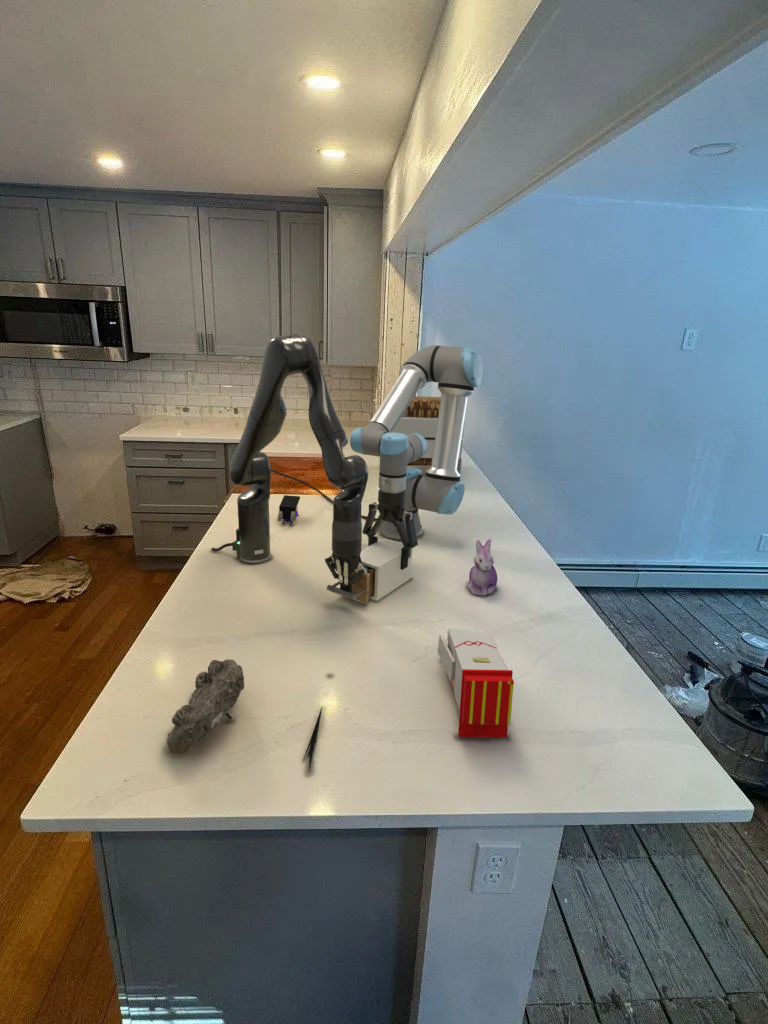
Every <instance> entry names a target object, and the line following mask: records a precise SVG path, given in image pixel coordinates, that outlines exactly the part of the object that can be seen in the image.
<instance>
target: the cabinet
mask: <svg viewBox="0 0 768 1024" xmlns="http://www.w3.org/2000/svg"><path fill="white" fill-rule="evenodd" d="M403 547H404V545H403V543H402V542H399V541H397V540H393V539H390V538H387V537H384V538H382V539H380V540H379V539H378V542H376V543H374V544H372V545H370V546H368V545H367V546H366V547H364V548H361V553H360V558H361V564H362V565H365V566H368V567H371V568H374V569H375V591H374V595H373V596H371V597H369V600H372V601H375V602H378V601H380V600H382V598H384V597H385V596H387V595H389V593H391V592H393V591H395V590H396V589H397V588H399V587H400V586H402V585H403V584H405V583H406V582H408V581H409V580H411V578H412V562H413V549H414V548H411V557H410V558H409V559H408V567H407V568H405V569H403V570H401V569H400V568H401V550H402V548H403Z"/></svg>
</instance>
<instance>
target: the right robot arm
mask: <svg viewBox="0 0 768 1024" xmlns="http://www.w3.org/2000/svg"><path fill="white" fill-rule="evenodd" d="M483 375H484V365H483V359H482V356H481V353H480V352H479V350H477V349H476V348H471V347H466V346H449V345H435V344H434V345H428V346H425V347H423V348H421V349H419V350H418V351H416V352H414V353H413V354H412V355H410V357H408V358H407V359H406V361H405V362H403V364H402V365H401V367H400V368H399V371H398V377H397V379H396V380H395V382H394V383H393V385H392V386H391V388H390V389H389V390H388V392H387V394H386V396H385V397H384V399H383V400H382V402H381V403H380V405H379V407H378V408H377V409H376V410H375V413H374V414H373V416H372V417H371V419H370V420H369V421H368V423H367V424H366V426H365V427H356V428H354V429H353V430H352V432H351V433H350V436H349V437H350V438H349V446H350V448H351V450H352V451H353V452H354V453H358V454H361V455H364V456H372V457H379V471H378V491H377V502H378V503H377V502H375V501H374V502H372V503H369V504H368V513H367V515H362V514H361V519H365V523H364V524H363V525H364V526H363V527H362V535H366V536H367V547H368V546H370V545H372V544H374V543H376V542H378V541H379V536H377V534H378V533H379V534H380V535H381V536H382V537H384V538H386V539H389V540H394V541H401V543H402V544H403V545H404V547H403V548H402V550H401V568H400V569H401V570H403V569H405V568H407V567H408V559H409V558H410V557H411V548H413V549H414V548H415V547H417V546H419V542H418V538H420V537H421V536H422V535H423V525H422V524H421V518H420V515H419V510H421V511H427V512H432V513H437V514H439V515H446V516H447V515H448V516H450V515H453V514H455V513H456V512H457V510H458V509H459V508H460V506H461V504H462V502H463V499H464V495H465V489H466V488H465V483H464V482H463V481H462V480H461V474H459V473H458V471H457V465H458V458H459V452H460V445H461V440H462V439H463V438H462V432H463V426H464V427H465V421H464V420H465V418H466V412H467V405H468V400H469V399H468V398H469V397H470V396H472V394H474V392H475V391H474V390H475V388H477V387H479V386H480V385H481V383H482V379H483ZM428 383H438V384H437V390H438V391H439V392H440V397H441V401H440V408H439V415H438V422H437V429H436V436H435V443H434V450H433V457H432V464H431V465H430V466H429V468H427V469H426V470H425V474H422V470H421V468H419V467H415V466H411V467H410V466H407V464H409V463H411V462H413V461H416V460H419V459H420V458H421V457H422V456H424V455H425V453H426V451H427V442H426V440H425V438H424V437H423V436H422V435H420V434H417V433H414V434H412V433H411V434H408V435H405V434H402V433H392V431H393V430H394V428H395V427H396V425H397V423H398V422H399V420H400V419H401V417H402V415H403V414H404V412H405V411H406V409H407V407H408V406H409V404H410V403H411V401H412V399H413V398H414V396H415V397H416V394H418V392H419V390H421V389H424V387H425V386H426V384H428ZM463 433H464V432H463ZM271 472H273V473H275V474H277V475H279V476H282V477H284V478H288V479H291V480H293V481H296V482H299V483H301V484H303V485H305V486H308V487H309V488H311V489H313V490H314V491H315V492H317V493H318V494H320V495H321V496H322V497H324V498H325V499H326V500H327V501H329V502H330V503H331V504H333V502H334V499H333V500H332V498H330V497H328V496H327V495H326V494H324V492H322V491H320V490H319V489H318V488H317V487H315V486H313V485H311V484H309V483H308V482H306V481H304V480H301V479H299V478H296V477H294V476H290V475H289V474H284V473H281V472H278V471H277V470H276V469H273V468H271ZM377 511H378V512H379V515H378V517H377V518H376V515H377Z"/></svg>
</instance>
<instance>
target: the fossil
mask: <svg viewBox="0 0 768 1024" xmlns="http://www.w3.org/2000/svg"><path fill="white" fill-rule="evenodd" d="M243 670H244V669H243V667H242V665H240V664H237V662H236V661H235V660H234V659H232V658H231V659H227V658H226V659H224V660H223V661H222V660H217V659H212V660H211V661H210V663H209V665H208V666H207V671H201V672H199V673H198V674H197V675H196V676H195V680H194V684H195V685H194V687H195V689H194V690H193V693H192V694H191V697H190V698H189V700H188V704H184V705H182V706H181V707H180V709H177V710H176V711H175V713H174V715H173V716H172V718H171V723H172V724H173V727H172V730H171V731H170V732H168V734H167V738H166V741H167V742H166V745H167V749H168V750H169V751H173V752H174V753H176V754H178V753H182V752H188V751H189V752H192V751H193V750H195V748H196V747H197V746H199V744H200V743H201V742H203V741H204V740H205V739H206V738H207V737H208V736H209V735H210V734H211V733H212V732H214V730H215V729H217V727H218V726H219V724H220V722H221V721H222V720H223V719H224V718H225V716H226V717H227V719H229V720H233V717H232V715H230V714H229V710H230V709H231V708H234V706H235V704H236V703H237V702H238V699H239V697H240V695H241V693H242V691H243V690H245V689H244V688H245V675H244V671H243Z"/></svg>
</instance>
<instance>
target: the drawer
mask: <svg viewBox="0 0 768 1024" xmlns="http://www.w3.org/2000/svg"><path fill="white" fill-rule="evenodd" d="M363 566H364V567H367V568H368V569H369V570H368V572H367V573H366V574H365V575H364V576H363V577H362V578H361V579H360V580H359V581H358V582H356V583H354V584H353V585H352V592H351V593H350V592H348V591H345V590H342V589H340V587H337V586H340V582H339V580H338V581H337V582H335V583H333V584H332V585H331V584H328V585H327V586H326V591H329V592H331V593H334V594H335V595H339V596H342V597H344V598H346V599H349V600H352V601H359V602H361V603H364V604H367V603H369V602H370V599H369V597H371V596H373V595H374V591H375V569H374V568H371V567H368V566H365V565H363ZM357 569H358V567H357ZM357 569H356V570H355V574H354V576H355V575H356V574H357Z"/></svg>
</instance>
